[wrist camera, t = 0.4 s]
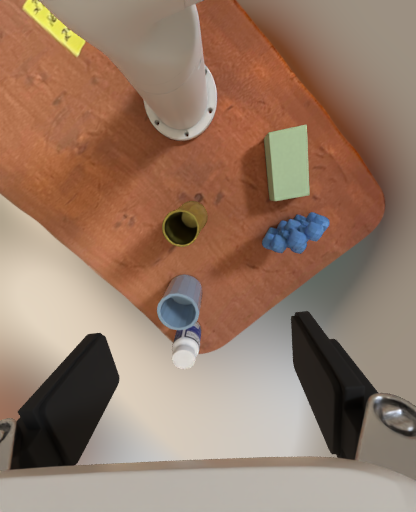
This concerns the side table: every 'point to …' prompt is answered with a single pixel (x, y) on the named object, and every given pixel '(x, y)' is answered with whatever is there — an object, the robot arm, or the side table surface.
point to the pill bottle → (186, 346)
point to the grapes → (295, 233)
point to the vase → (184, 223)
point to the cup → (180, 303)
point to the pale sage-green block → (287, 163)
